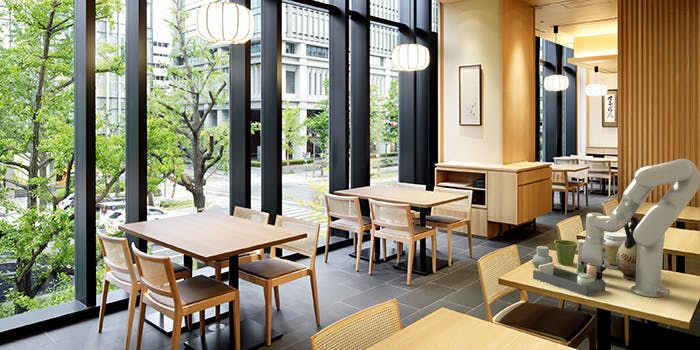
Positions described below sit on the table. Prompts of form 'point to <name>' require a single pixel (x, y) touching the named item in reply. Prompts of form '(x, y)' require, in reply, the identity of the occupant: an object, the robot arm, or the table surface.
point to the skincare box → (579, 265)
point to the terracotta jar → (592, 270)
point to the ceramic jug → (628, 251)
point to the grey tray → (569, 281)
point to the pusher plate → (546, 268)
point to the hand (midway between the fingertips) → (592, 277)
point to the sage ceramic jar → (585, 278)
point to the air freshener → (542, 256)
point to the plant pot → (565, 251)
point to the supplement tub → (613, 246)
